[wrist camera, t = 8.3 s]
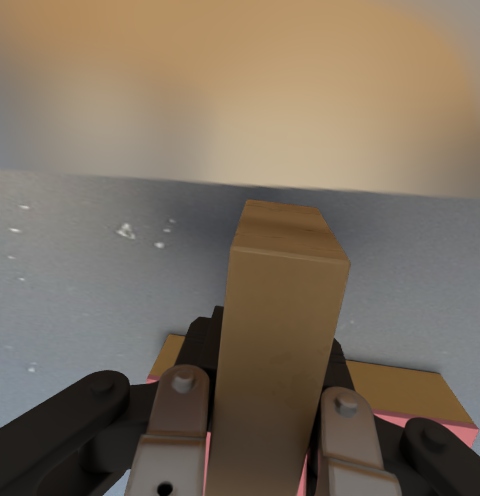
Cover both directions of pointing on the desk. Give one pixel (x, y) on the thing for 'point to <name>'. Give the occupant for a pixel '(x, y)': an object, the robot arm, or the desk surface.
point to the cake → (409, 399)
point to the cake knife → (273, 348)
